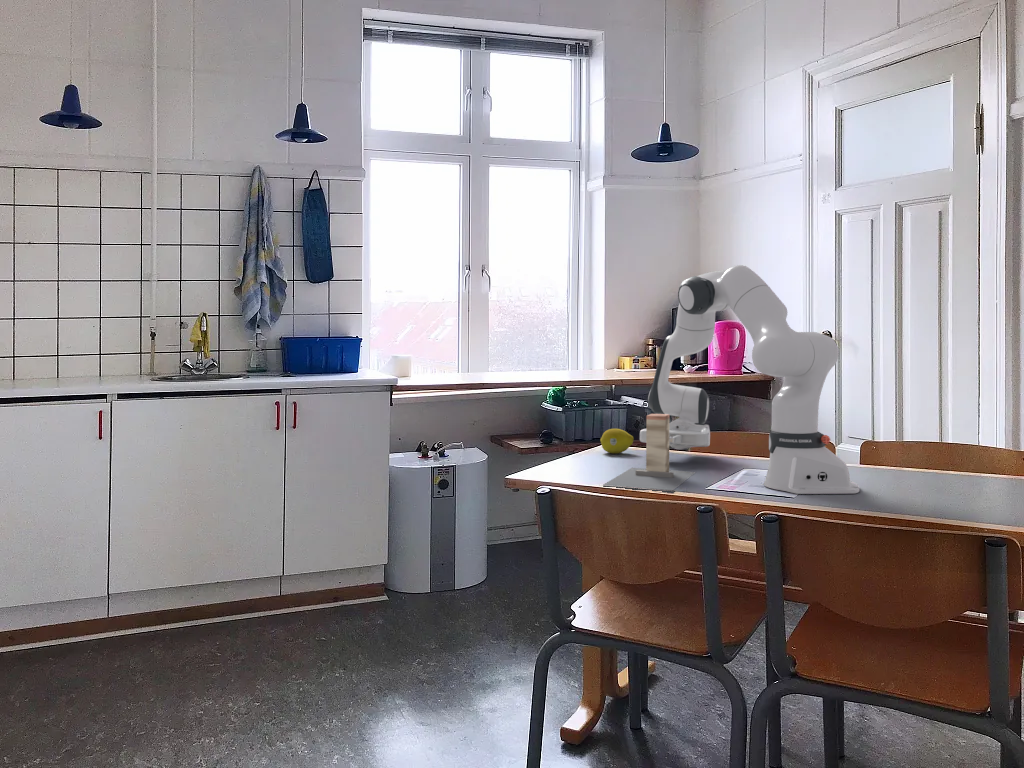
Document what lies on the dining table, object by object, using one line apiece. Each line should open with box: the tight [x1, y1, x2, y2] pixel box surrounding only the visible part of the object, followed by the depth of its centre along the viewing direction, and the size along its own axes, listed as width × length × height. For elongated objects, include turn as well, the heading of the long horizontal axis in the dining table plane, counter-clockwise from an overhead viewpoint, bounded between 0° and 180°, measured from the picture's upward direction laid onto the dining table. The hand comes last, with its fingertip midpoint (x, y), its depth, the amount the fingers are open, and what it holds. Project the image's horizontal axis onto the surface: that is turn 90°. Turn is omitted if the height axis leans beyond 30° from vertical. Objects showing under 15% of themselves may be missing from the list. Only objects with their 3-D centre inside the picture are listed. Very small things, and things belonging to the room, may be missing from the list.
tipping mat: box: [602, 467, 697, 494], centre depth 218 cm, size 26×18×2 cm
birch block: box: [645, 413, 671, 472], centre depth 224 cm, size 5×5×16 cm
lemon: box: [599, 428, 634, 455], centre depth 263 cm, size 11×8×8 cm
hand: (668, 440), depth 235 cm, fingers closed
